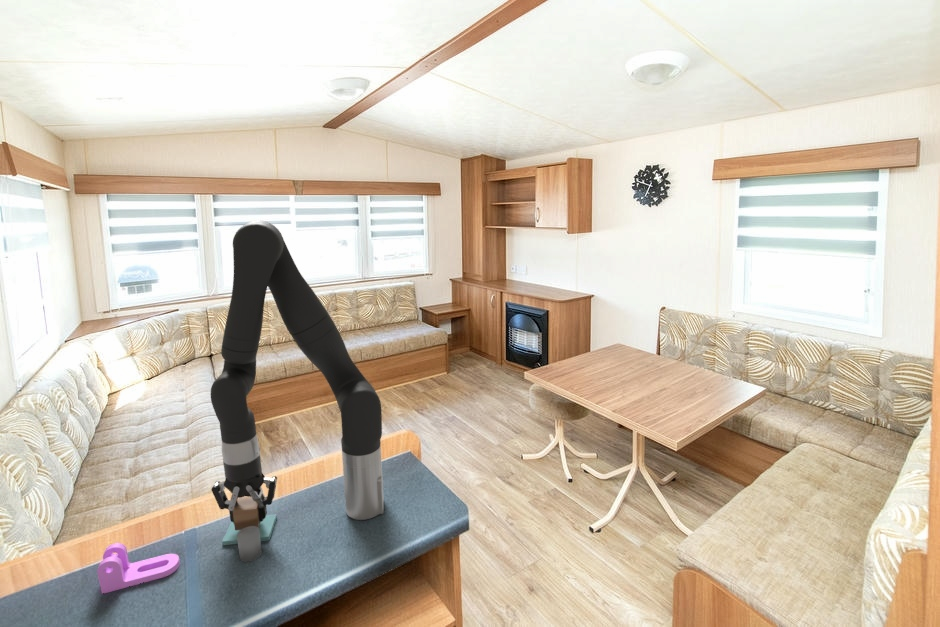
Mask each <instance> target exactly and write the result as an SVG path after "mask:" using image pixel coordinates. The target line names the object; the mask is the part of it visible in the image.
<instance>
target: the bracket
mask: <svg viewBox="0 0 940 627" xmlns="http://www.w3.org/2000/svg"><path fill="white" fill-rule="evenodd" d="M129 559H130V558H129V554H128V548H127V546H126V545H125V544H124V543H121V542H116V543H112V544H109V545H108V546H107V547H106V548H105V549H104V553H103V556H102V560H101V561H100V563H99V565H98V567H97V572H96V573H97V577H98V581H99V585H100V592H101V594H102V595H103V593H104V594H107V593H110V592H114V591H118V590H121V589H126V588H129V586H130V587H132V586H137V585H140V583H141V584H143V582H144V583H147V582H148V583H149V582H151V581H155V580H158V579H161V578H166V577H167V576H168V577H169V576H170V575H172V574H173V573H174V572H176V571H177V570H178V568H179V567H180V565H181V562H180V557H179V555H178V554H177V553H166V554H162V555H158V556H154V557H151V558H146V559H143V560H139V561H135V562H130V560H129Z"/></svg>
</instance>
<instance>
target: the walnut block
mask: <svg viewBox="0 0 940 627" xmlns="http://www.w3.org/2000/svg"><path fill="white" fill-rule="evenodd" d="M233 518H234V526H235V530H242V529H243V528H246V527H249V526H256V527H258V528H259V525H260V521H259V513H258V505H257V503H256V501H254V500H253V499H252V497H247V496H244V497H241V498H238V501H237V503H236V505H235V507H234V509H233Z"/></svg>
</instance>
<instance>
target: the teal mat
mask: <svg viewBox="0 0 940 627" xmlns="http://www.w3.org/2000/svg"><path fill="white" fill-rule="evenodd" d="M277 518H278V515H277V513H276V514H266V517H265V519H264V520H263V521H261V522H260V525H259V533H260V541H261V542H264V541H270V540H271V536H272V533H273V531H274V528H275V525H276V522H277ZM239 531H240V530H235V526H234V523H233V522H231V521H230V524H229V525H228V527H227V530H226V532H225V534H224V537H223V539H222V540H221V544H222V546H229V545H238V541H237V534H238V532H239Z"/></svg>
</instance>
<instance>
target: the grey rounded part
mask: <svg viewBox="0 0 940 627" xmlns="http://www.w3.org/2000/svg"><path fill="white" fill-rule="evenodd" d="M237 541H238V544H237V547H238V554H239V560H240V561H241V562H244V563H250V562H253V561H255V560H257V559H258V558H259V557H260V556H261V555H262V553H263V550H262V541H260V533H259V528H258V527H256V526H249V527H246V528H243V529H242V530H240V531H239V532H238V534H237Z"/></svg>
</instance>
